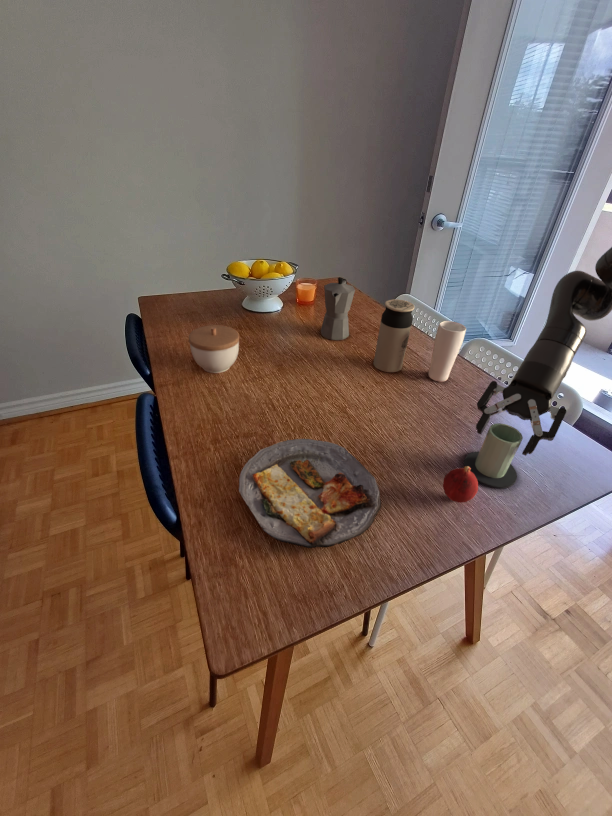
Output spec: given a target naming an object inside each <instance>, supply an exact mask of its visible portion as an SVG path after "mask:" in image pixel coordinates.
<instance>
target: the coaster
mask: <svg viewBox="0 0 612 816" xmlns="http://www.w3.org/2000/svg"><path fill="white" fill-rule="evenodd" d="M479 452H480V450H479V451H473V452H470V453H468V454H467V455H466V456H465V458H464V460H463V468H464V467H466V466H469V467H470V468H471V470H470V471H471V472H472V473H473V474H474V475H475V476H476V478H477V481H478V484H481V485H482V486H486V487H489V488H492V489H498V490H503V489H508V488H510V487H512V486H514V485H515V483H516V482H517V480H518V474H517V471H516V469H515V467H514V466H513V465H512V463H511V464H510V466H509V468H508V470H507V472H506V474H505V475H504V476H503V477H501V478H491V477H488V476H486V475H484V474H482V473H481V472H479V471H478V469H477V468H476V466H475V462H476V459H477V456H478V454H479Z"/></svg>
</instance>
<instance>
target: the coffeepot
mask: <svg viewBox="0 0 612 816" xmlns="http://www.w3.org/2000/svg"><path fill="white" fill-rule="evenodd" d="M323 289H324V305H325V306H324V307H325V313H324V316H323V320H322V324H321V327H320V335H321V336H322V337H323V338H325V339H328V340H332V341H343V340H346V339H347V338H348V337H350V329H349V328H350V327H349V326H350V325H349V316H348V314H349V311H350V310H351V307H352V303H353V299H354V296H355V292H356V289H355V287H354V286H353V285H351V284H348V281H347V279H346V278H343V277H342V276H341V277H337V282H330V283H327V284H325V285H324V288H323Z"/></svg>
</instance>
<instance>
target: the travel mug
mask: <svg viewBox="0 0 612 816" xmlns="http://www.w3.org/2000/svg"><path fill="white" fill-rule="evenodd" d="M384 306H385V310H384V311H383V312H382V313H381V319H380V324H379V329H378V334H377V341H376V347H375V352H374V357H373V366H374V368H375V369H377V370H379V371H382V372H384V373H396V372H397V373H398V372H400V371H401V370H402V369H403V364H404V360H405V356H406V352H407V347H408V343H409V338H410V333H411V330H412V325H413V321H414V318H413V311H414V310H415V308H416V307H415V305H414V303H412V302H410V301H407V300H404V299H398V298H396V299H395V298H394V299H388V300H386V301H385V302H384Z"/></svg>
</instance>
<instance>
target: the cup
mask: <svg viewBox="0 0 612 816" xmlns="http://www.w3.org/2000/svg"><path fill="white" fill-rule="evenodd" d="M523 439H524V437H523V434H522V433H521V432H520V430H518V429H517V428H515V427H514V426H512V425H510V424H505V423H499V422H498V423H493V424H491V425H490V426H489V428H488V430H487V432H486V435H485V438H484V440H483V442H482V445H481V447H480V449H479V451H480V452H479V454H478V456H477V459H476V462H475V466H476V468H477V469H478V471H479V472H481V473H482V474H484V475H486V476H488V477H491V478H501V477H503V476H504V475H505V474H506V472H507V470H508V468H509V466H510V464H511V465H512V461H513V459H514V457H515V456H516V454H517V451H518V449H519V447H520V445H521V443H522V441H523Z"/></svg>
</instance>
